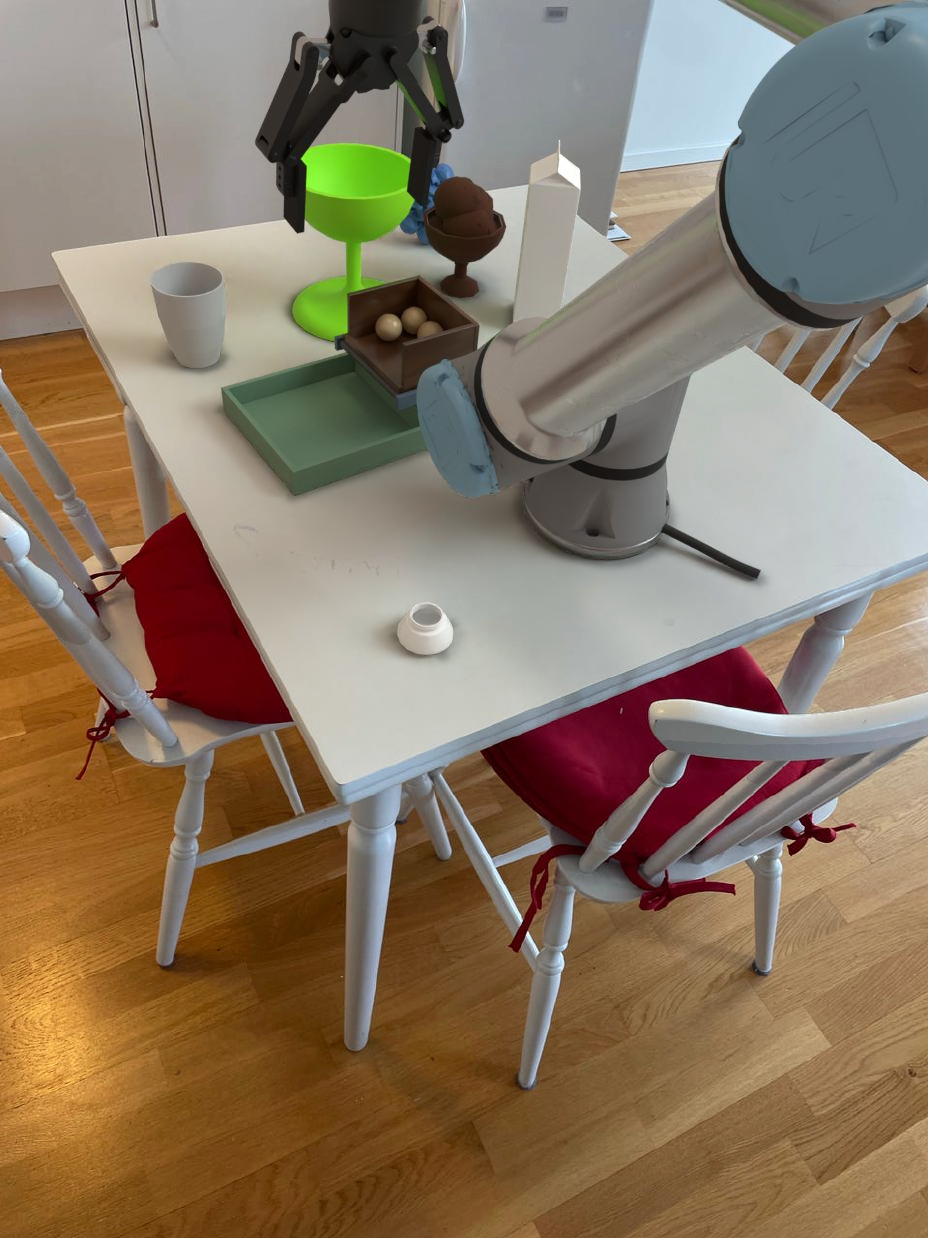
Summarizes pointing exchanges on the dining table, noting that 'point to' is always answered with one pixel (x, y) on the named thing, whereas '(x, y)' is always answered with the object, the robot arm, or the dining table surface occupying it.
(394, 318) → the wooden ball
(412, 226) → the grapes
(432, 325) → the wooden ball
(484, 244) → the ice cream bowl
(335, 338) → the stand
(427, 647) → the lidless jar
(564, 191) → the milk
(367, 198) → the wineglass
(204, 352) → the cup
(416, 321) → the wooden ball
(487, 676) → the dining table surface
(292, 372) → the tray
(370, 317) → the brown wooden box
